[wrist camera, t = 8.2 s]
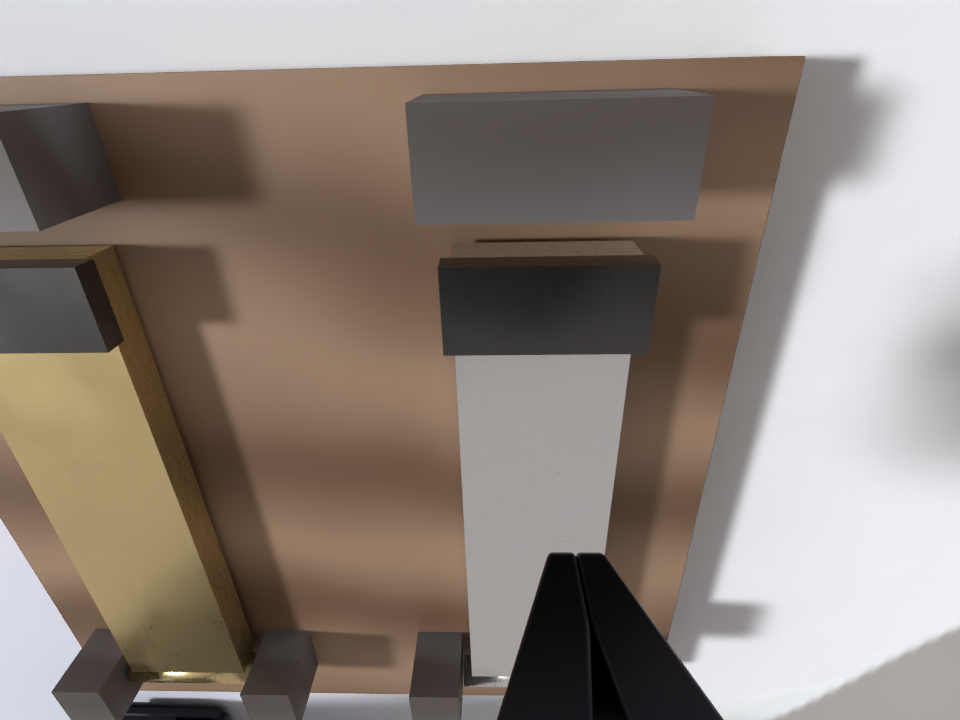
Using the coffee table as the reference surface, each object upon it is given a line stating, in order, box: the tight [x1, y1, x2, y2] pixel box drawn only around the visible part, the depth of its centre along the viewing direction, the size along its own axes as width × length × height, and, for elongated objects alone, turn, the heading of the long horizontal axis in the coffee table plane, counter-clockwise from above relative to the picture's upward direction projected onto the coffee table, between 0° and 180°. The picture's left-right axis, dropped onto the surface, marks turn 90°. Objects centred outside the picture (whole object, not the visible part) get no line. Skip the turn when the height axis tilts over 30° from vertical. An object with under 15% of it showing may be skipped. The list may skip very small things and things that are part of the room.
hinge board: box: [0, 56, 805, 720], centre depth 16 cm, size 22×22×4 cm
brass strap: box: [0, 245, 257, 684], centre depth 16 cm, size 16×5×2 cm, turn 2°
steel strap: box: [438, 241, 661, 687], centre depth 15 cm, size 16×5×2 cm, turn 2°
